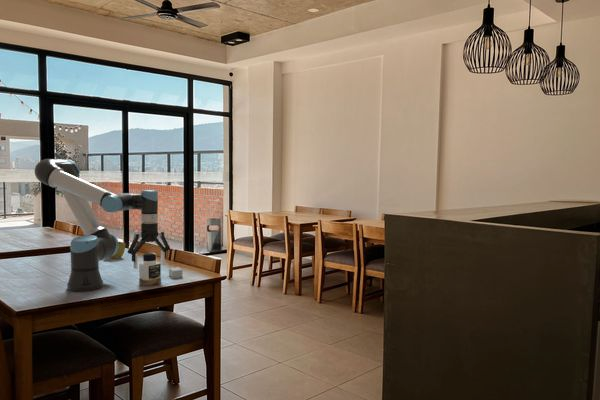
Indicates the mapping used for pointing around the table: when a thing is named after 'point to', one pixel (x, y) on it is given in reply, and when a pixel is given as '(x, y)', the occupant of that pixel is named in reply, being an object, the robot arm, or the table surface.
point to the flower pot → (119, 250)
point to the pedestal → (149, 282)
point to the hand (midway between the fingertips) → (149, 266)
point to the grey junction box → (175, 272)
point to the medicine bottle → (149, 267)
